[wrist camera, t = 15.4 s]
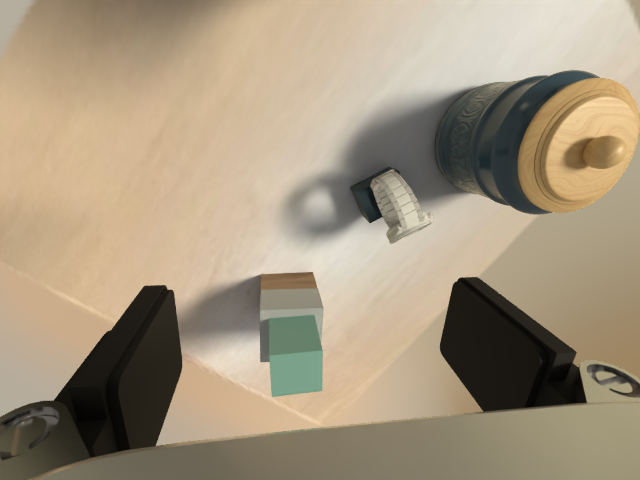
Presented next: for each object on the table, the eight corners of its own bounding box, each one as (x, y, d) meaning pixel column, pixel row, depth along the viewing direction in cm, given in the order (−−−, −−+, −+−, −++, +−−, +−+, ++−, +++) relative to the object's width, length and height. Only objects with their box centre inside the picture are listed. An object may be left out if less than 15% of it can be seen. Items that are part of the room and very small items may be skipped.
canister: (545, 106, 41) (731, 97, 24) (496, 202, 44) (629, 250, 28) (460, 66, 37) (609, 26, 21) (415, 173, 41) (512, 209, 25)
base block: (261, 273, 43) (260, 290, 39) (312, 271, 44) (317, 287, 40) (262, 318, 45) (262, 338, 41) (311, 315, 46) (315, 334, 42)
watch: (368, 228, 43) (399, 262, 33) (344, 174, 40) (370, 193, 30) (406, 209, 43) (449, 237, 33) (384, 153, 40) (425, 165, 29)
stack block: (269, 318, 35) (269, 355, 30) (314, 314, 36) (322, 350, 30) (271, 355, 37) (271, 396, 31) (314, 350, 38) (322, 390, 32)
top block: (260, 289, 39) (259, 310, 35) (317, 288, 40) (323, 308, 36) (261, 337, 41) (260, 362, 37) (315, 335, 42) (320, 358, 38)
